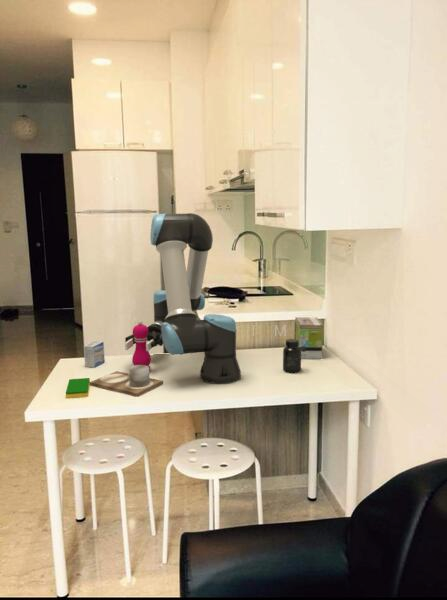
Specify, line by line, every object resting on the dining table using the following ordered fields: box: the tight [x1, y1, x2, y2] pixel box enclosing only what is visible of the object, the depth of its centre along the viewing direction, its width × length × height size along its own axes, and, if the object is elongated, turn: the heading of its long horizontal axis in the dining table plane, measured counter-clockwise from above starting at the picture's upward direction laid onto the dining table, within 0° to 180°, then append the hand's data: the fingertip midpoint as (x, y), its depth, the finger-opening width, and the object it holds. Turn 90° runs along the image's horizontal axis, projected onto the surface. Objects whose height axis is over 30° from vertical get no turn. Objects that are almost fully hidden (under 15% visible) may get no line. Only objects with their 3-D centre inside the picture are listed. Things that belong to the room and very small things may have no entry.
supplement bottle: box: [282, 338, 302, 374], centre depth 194 cm, size 7×7×12 cm
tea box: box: [294, 316, 324, 360], centre depth 215 cm, size 15×10×15 cm
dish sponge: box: [65, 377, 91, 399], centre depth 176 cm, size 7×14×2 cm, turn 12°
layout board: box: [90, 365, 164, 398], centre depth 180 cm, size 22×14×7 cm, turn 59°
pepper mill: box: [131, 320, 152, 373], centre depth 194 cm, size 7×7×20 cm
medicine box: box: [83, 340, 105, 368], centre depth 204 cm, size 8×4×9 cm, turn 162°
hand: (136, 347), depth 189 cm, fingers open, 8 cm apart
